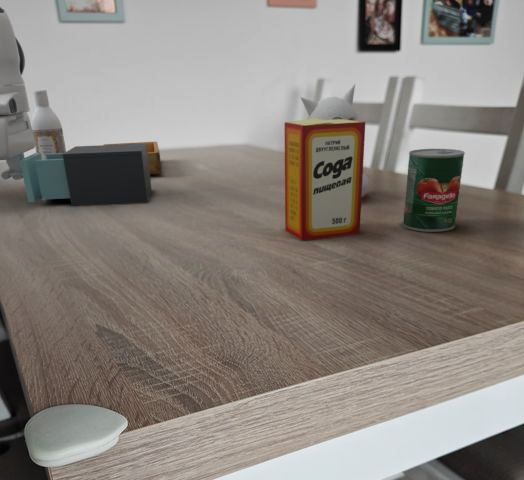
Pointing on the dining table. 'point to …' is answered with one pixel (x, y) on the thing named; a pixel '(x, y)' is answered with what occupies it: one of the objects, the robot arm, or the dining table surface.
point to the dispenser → (108, 174)
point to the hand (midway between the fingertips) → (19, 178)
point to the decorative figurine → (335, 115)
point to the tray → (150, 156)
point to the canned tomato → (432, 189)
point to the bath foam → (46, 127)
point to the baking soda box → (323, 177)
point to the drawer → (42, 177)
